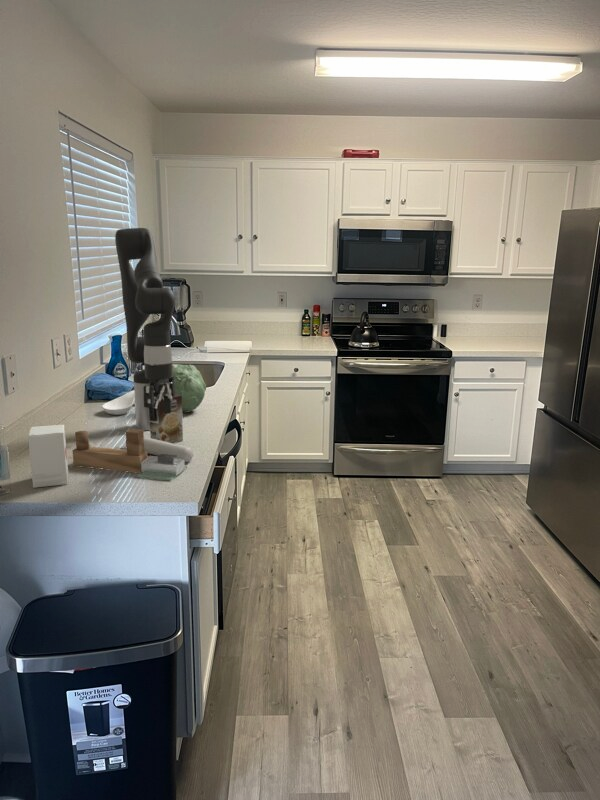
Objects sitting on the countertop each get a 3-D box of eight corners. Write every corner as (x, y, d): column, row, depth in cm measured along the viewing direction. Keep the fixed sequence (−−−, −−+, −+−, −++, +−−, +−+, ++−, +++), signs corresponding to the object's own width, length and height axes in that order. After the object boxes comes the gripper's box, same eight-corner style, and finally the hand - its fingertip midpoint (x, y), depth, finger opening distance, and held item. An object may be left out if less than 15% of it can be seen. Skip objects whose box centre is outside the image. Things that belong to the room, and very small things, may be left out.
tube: (194, 464, 179) (135, 449, 191) (197, 447, 179) (138, 433, 191) (183, 464, 174) (123, 449, 186) (186, 446, 174) (126, 432, 186)
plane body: (82, 461, 177) (79, 423, 174) (148, 467, 172) (146, 429, 169) (73, 466, 173) (70, 427, 170) (140, 473, 168) (138, 433, 165)
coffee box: (160, 446, 192) (158, 399, 188) (150, 442, 196) (147, 396, 192) (183, 440, 198) (182, 395, 194) (173, 436, 202) (171, 391, 199)
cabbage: (206, 416, 228) (205, 366, 223) (157, 417, 226) (155, 367, 221) (207, 406, 243) (205, 359, 239) (161, 407, 241) (159, 360, 236)
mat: (156, 464, 175) (156, 462, 175) (187, 467, 173) (187, 465, 173) (138, 477, 165) (138, 475, 165) (170, 480, 163) (170, 478, 162)
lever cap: (150, 465, 173) (149, 450, 172) (184, 468, 170) (184, 454, 169) (141, 471, 168) (140, 456, 166) (176, 475, 165) (175, 460, 164)
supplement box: (68, 484, 159) (63, 432, 155) (32, 488, 156) (27, 435, 153) (69, 473, 167) (64, 423, 164) (35, 476, 164) (30, 426, 161)
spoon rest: (119, 419, 224) (118, 401, 222) (96, 415, 229) (94, 397, 227) (158, 405, 245) (157, 389, 243) (136, 402, 250) (135, 386, 248)
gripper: (157, 355, 168) (160, 409, 172) (133, 364, 155) (136, 422, 159) (181, 357, 167) (183, 411, 171) (158, 366, 153) (161, 424, 157)
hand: (160, 416), depth 165 cm, fingers open, 8 cm apart
